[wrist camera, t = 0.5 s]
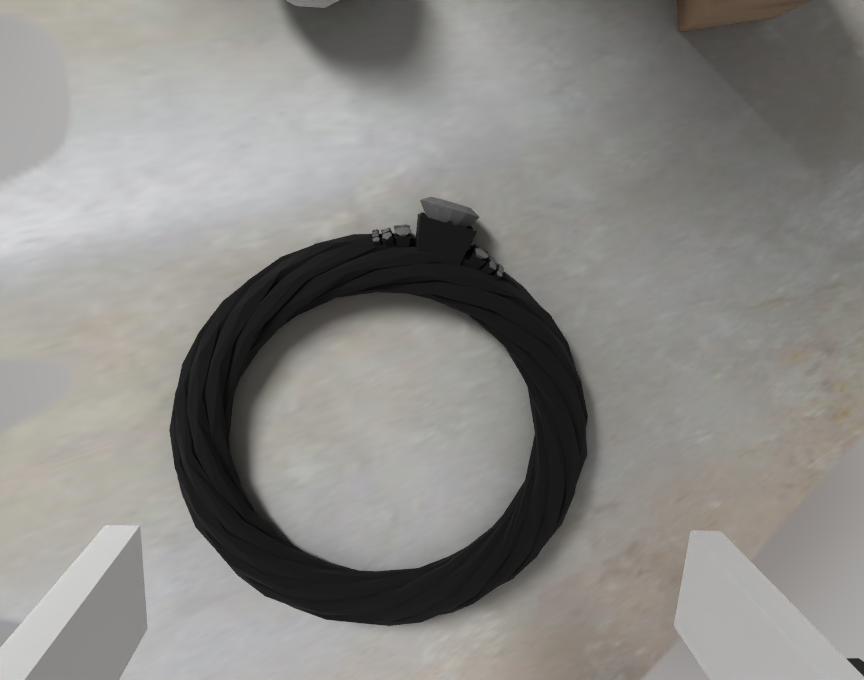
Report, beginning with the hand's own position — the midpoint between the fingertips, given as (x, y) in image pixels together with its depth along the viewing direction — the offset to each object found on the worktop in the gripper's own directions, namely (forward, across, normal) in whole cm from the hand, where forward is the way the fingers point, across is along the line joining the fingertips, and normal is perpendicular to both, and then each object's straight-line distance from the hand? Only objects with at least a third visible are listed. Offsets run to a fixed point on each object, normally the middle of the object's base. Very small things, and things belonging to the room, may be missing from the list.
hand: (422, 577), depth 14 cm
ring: (+26, -1, -6) cm, 27 cm away
